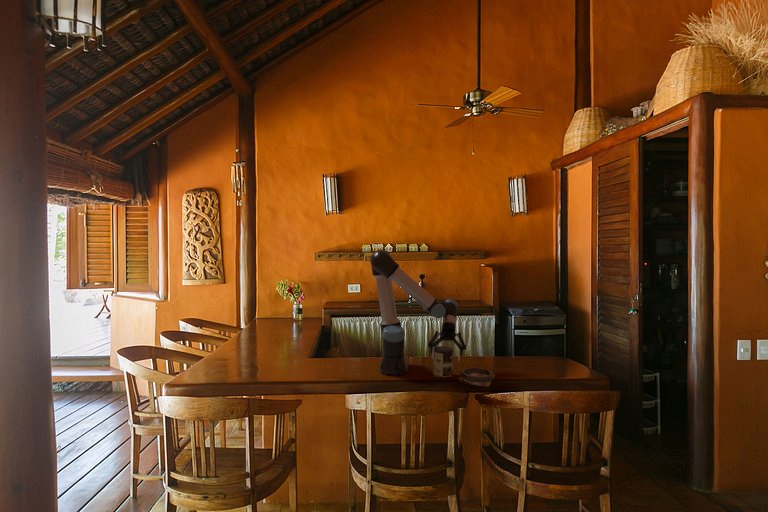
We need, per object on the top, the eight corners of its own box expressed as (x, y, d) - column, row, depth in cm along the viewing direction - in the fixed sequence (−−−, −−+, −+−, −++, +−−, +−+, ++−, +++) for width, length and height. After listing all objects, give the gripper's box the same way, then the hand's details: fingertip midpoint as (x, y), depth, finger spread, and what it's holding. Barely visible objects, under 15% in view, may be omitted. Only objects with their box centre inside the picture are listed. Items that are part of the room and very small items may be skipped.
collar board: (458, 382, 238) (458, 374, 237) (466, 373, 251) (466, 366, 251) (488, 386, 231) (488, 378, 231) (495, 377, 245) (495, 370, 245)
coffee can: (453, 372, 253) (453, 346, 252) (452, 379, 243) (452, 351, 242) (434, 371, 255) (434, 345, 254) (432, 377, 245) (432, 350, 244)
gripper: (472, 330, 262) (470, 365, 249) (427, 327, 268) (422, 361, 255) (471, 322, 256) (469, 358, 243) (425, 320, 262) (421, 354, 249)
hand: (445, 360), depth 249 cm, fingers open, 13 cm apart
